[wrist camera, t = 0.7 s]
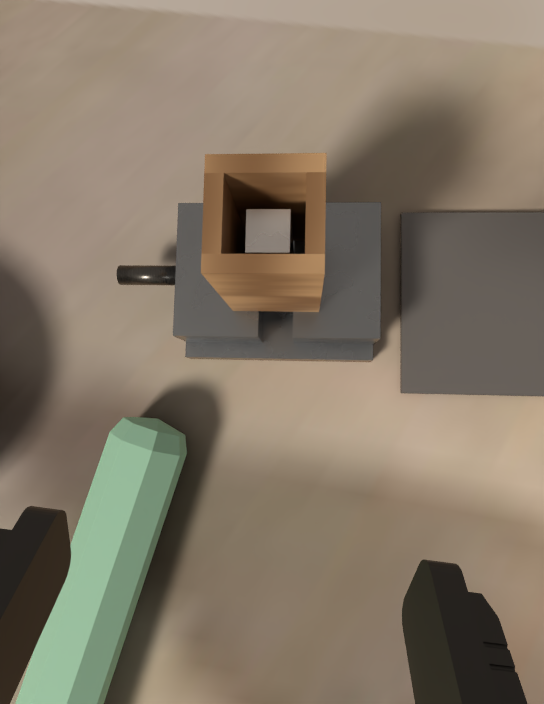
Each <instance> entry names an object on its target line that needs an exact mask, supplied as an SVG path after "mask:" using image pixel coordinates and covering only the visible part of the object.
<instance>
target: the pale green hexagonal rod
mask: <svg viewBox="0 0 544 704" xmlns="http://www.w3.org/2000/svg"><path fill="white" fill-rule="evenodd" d="M186 455H187V448H186V438H185V435H184V434H183V433H181V432H179V431H178V430H176V429H174V428H173V427H171V426H169V425H168V424H166V423H164V422H163V421H161V420H159V419H158V418H141V417H124V418H122V420H121V421H120V422H119V423H118V424H117V425H116V426H115V427H114V428H113V429H112V430H111V431H110V433H109V436H108V439H107V441H106V444H105V447H104V450H103V453H102V456H101V459H100V462H99V464H98V467H97V470H96V473H95V476H94V479H93V482H92V485H91V488H90V490H89V493H88V496H87V499H86V502H85V505H84V508H83V511H82V514H81V516H80V519H79V522H78V525H77V528H76V531H75V534H74V537H73V539H72V542H71V545H70V547H71V562H70V567H69V571H68V575H67V578H66V580H65V583H64V585H63V587H62V589H61V592H60V594H59V596H58V598H57V600H56V603H55V605H54V607H53V609H52V611H51V614H50V616H49V618H48V620H47V623H46V625H45V627H44V629H43V631H42V634H41V636H40V638H39V640H38V642H37V645H36V647H35V649H34V652H33V655H32V658H31V661H30V664H29V666H28V669H27V672H26V675H25V678H24V681H23V684H22V687H21V689H20V692H19V695H18V698H17V701H16V704H104V701H105V698H106V695H107V692H108V689H109V686H110V683H111V680H112V677H113V674H114V671H115V668H116V665H117V662H118V659H119V656H120V653H121V650H122V647H123V644H124V641H125V638H126V635H127V632H128V629H129V626H130V623H131V620H132V617H133V614H134V611H135V608H136V605H137V602H138V599H139V596H140V593H141V590H142V587H143V584H144V581H145V578H146V575H147V572H148V569H149V566H150V563H151V560H152V557H153V554H154V551H155V548H156V545H157V542H158V539H159V536H160V533H161V530H162V527H163V524H164V521H165V518H166V515H167V512H168V509H169V506H170V503H171V500H172V497H173V494H174V491H175V488H176V485H177V482H178V479H179V476H180V473H181V470H182V467H183V464H184V461H185V458H186Z"/></svg>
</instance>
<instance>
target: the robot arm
mask: <svg viewBox="0 0 544 704" xmlns="http://www.w3.org/2000/svg"><path fill="white" fill-rule="evenodd" d="M70 562H71V547H70V539H69V532H68V524H67V517H66V513H65V511H63V510H57V509H49V508H42V507H34V506H29V507H27V508H26V509H25V510H24V512H23V513H22V514H21V516H20V518H19V519H18V521H17V523H16V524H15V526H14V528H13V529H12V530H7V529H0V704H10V702H11V700H12V698H13V695H14V693H15V691H16V689H17V686H18V684H19V682H20V680H21V678H22V675H23V673H24V671H25V669H26V667H27V664H28V662H29V660H30V658H31V656H32V653H33V651H34V649H35V647H36V645H37V642H38V640H39V638H40V636H41V634H42V631H43V629H44V627H45V625H46V623H47V620H48V618H49V616H50V614H51V611H52V609H53V607H54V605H55V603H56V600H57V598H58V596H59V594H60V592H61V589H62V587H63V585H64V583H65V580H66V578H67V575H68V571H69V567H70ZM402 625H403V632H404V638H405V644H406V650H407V656H408V662H409V668H410V674H411V681H412V687H413V693H414V699H415V704H527V701H526V698H525V695H524V692H523V689H522V686H521V683H520V680H519V677H518V674H517V673H516V672H515V665H514V662H513V659H512V656H511V653H510V650H508V649H507V645H508V644H507V642H506V639H505V636H504V633H503V630H502V627H501V624H500V621H499V618H498V616H497V615H496V614H495V612H494V611H493V609H492V608H491V606H490V605H489V604H488V602H487V601H486V599H485V598H484V597H483V595H482V594H480V593H473V592H468V590H467V587H466V583H465V580H464V577H463V574H462V571H461V569H460V567H459V566H458V565H457V564H453V563H446V562H438V561H431V560H422V561H421V562H420V564H419V566H418V568H417V571H416V573H415V575H414V577H413V580H412V582H411V584H410V586H409V589H408V591H407V593H406V595H405V598H404V602H403V608H402Z"/></svg>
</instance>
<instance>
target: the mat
mask: <svg viewBox="0 0 544 704" xmlns="http://www.w3.org/2000/svg"><path fill="white" fill-rule="evenodd" d="M401 393H420V394H465V395H510V396H544V212H462V213H401Z"/></svg>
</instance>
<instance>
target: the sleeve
mask: <svg viewBox="0 0 544 704" xmlns="http://www.w3.org/2000/svg"><path fill="white" fill-rule="evenodd" d="M246 209H291V220H292V232H293V241H305V254H246V253H245V241H246ZM325 219H326V153H293V154H205V171H204V199H203V227H202V254H201V274H202V275H203V276H204V277H205V278H206V280H207V281H208V282H209V283H210V284H211V286H212V287H213V288H214V289H215V290H216V291H217V293H218V294H219V295H220V296H221V297H222V299H223V300H224V301H225V302H226V303H227V304H228V306H229V307H230V308H231V309H232V310H233V311H282V312H319V309H320V302H321V295H322V289H323V282H324V275H325Z"/></svg>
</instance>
